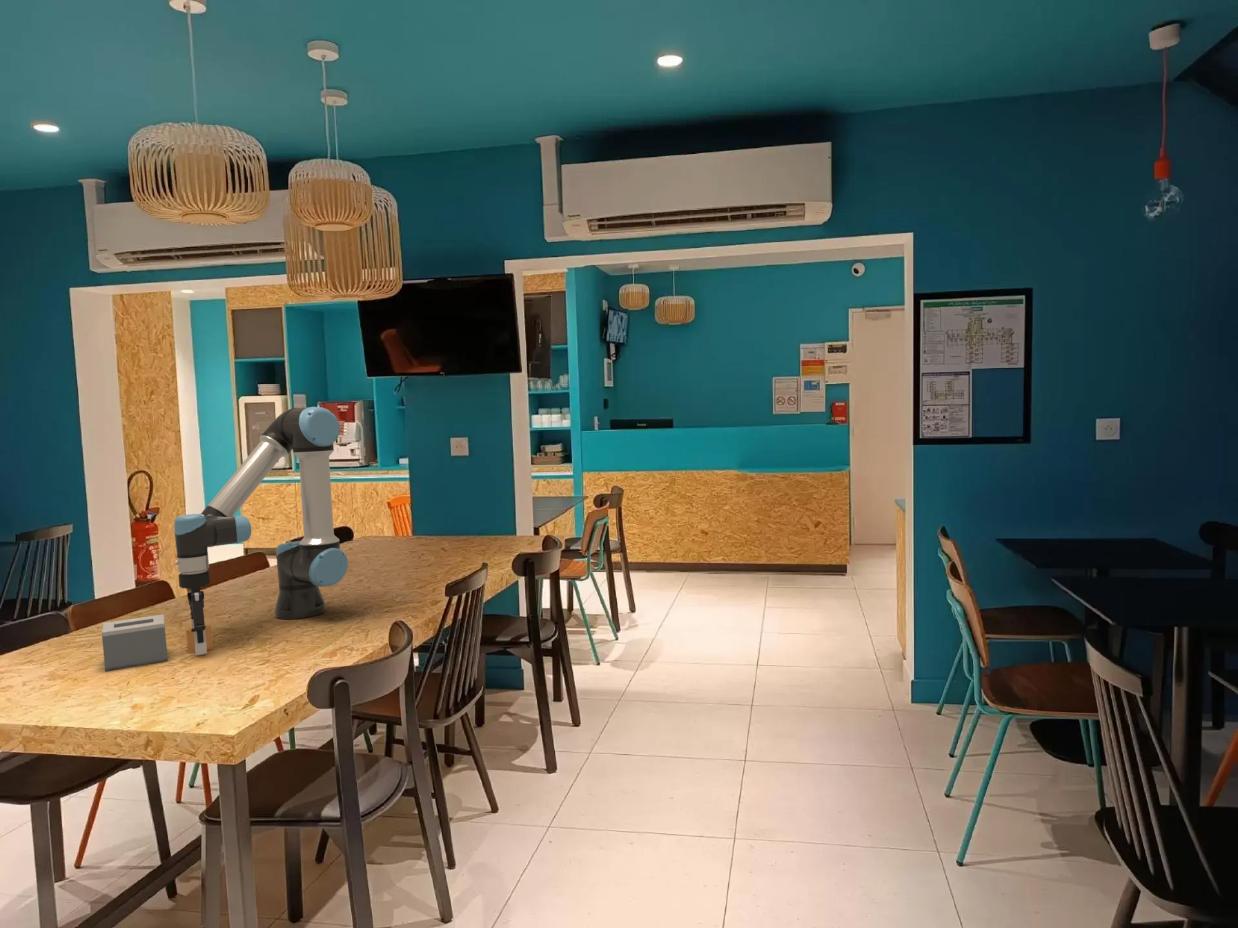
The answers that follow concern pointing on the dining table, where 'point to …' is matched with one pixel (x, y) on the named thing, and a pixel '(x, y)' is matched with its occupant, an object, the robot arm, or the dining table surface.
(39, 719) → the dining table surface
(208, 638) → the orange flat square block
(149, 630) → the box with rectangular hole
